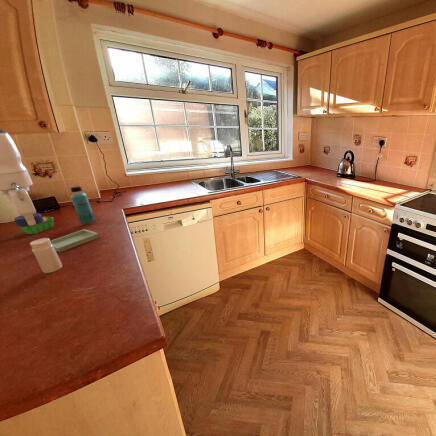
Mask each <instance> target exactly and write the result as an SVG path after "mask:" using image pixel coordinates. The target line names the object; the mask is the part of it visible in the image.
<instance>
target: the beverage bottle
mask: <svg viewBox="0 0 436 436" xmlns="http://www.w3.org/2000/svg"><path fill="white" fill-rule="evenodd" d="M70 191H71V193H73V194H71V196H70V198H71V201H72V204H73V207H74V210H75V213H76V216H77V219H78V221H79V223H80V224H88V223H92V222H94V221H96V217H95V215H94V211H93V209H92V206H91V203H90V201H89V198H88V196H87V194H86V193H85V192H82V191H83V189H82V186H79V185H78V186H72V187H71V188H70Z"/></svg>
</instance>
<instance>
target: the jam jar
mask: <svg viewBox="0 0 436 436" xmlns="http://www.w3.org/2000/svg"><path fill="white" fill-rule="evenodd" d="M50 241H51V239H50V238H49V237H41V238H37V239H35V240H33V241H31V242H30V243H29V245H30V247H31V252H32V253H33V255H34V257H35V260H36V262H37V263H38V265H39V267H40V269H41V271H42V273H43V274H49V273H50V274H51V273H53V272H56V271H58V270H60V269H62V268H63V263H62V261H61V259H60V256H59V254H58V253H57V251H56V250H55V248H54V246H53V244H51V242H50Z"/></svg>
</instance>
